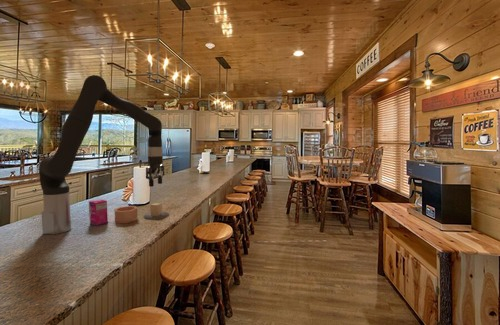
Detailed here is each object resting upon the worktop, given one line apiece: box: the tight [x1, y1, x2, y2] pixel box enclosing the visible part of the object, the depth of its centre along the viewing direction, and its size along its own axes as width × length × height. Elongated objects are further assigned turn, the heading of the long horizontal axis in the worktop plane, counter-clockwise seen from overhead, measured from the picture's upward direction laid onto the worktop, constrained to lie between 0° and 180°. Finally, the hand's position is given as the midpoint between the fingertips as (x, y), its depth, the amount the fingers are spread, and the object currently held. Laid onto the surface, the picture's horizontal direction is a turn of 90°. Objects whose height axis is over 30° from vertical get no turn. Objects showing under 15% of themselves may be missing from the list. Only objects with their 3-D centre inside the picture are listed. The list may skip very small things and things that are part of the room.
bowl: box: [113, 205, 138, 224], centre depth 126 cm, size 10×10×6 cm
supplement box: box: [88, 199, 109, 227], centre depth 119 cm, size 6×6×12 cm
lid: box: [143, 202, 170, 221], centre depth 134 cm, size 13×13×7 cm
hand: (155, 185), depth 133 cm, fingers open, 8 cm apart
